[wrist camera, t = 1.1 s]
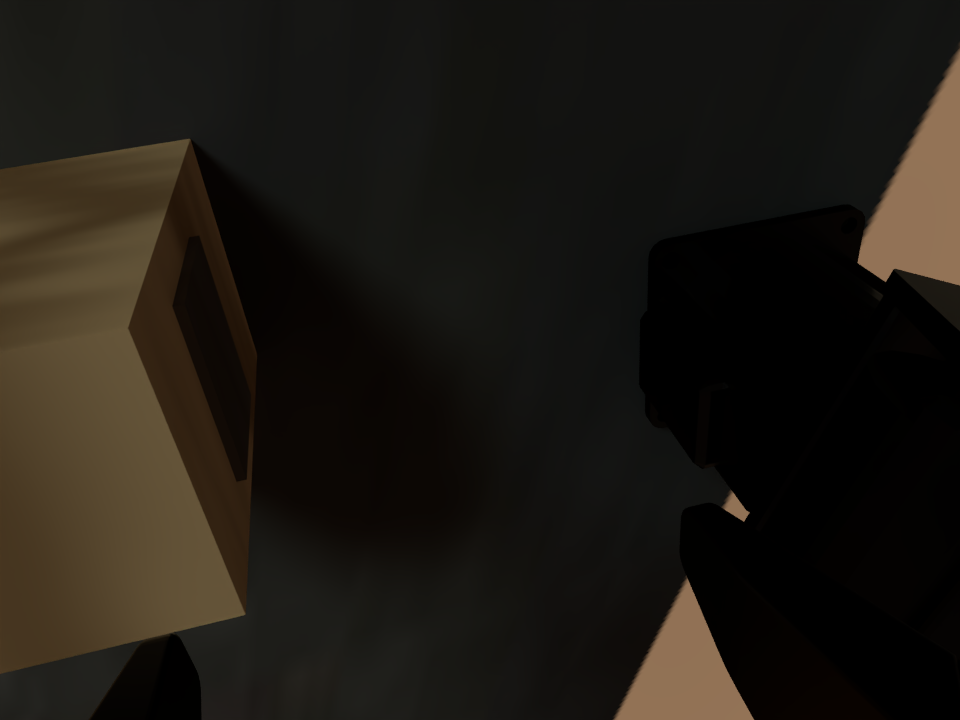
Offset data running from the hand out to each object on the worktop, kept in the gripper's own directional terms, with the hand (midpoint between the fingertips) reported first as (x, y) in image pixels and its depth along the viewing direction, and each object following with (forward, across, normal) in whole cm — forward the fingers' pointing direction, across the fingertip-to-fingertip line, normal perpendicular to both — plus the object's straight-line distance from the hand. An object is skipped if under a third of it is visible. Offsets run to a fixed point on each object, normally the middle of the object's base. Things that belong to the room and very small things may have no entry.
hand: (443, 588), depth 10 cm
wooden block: (+12, +6, 0) cm, 13 cm away
